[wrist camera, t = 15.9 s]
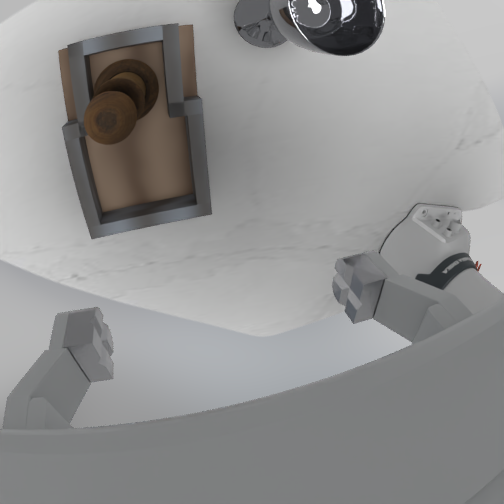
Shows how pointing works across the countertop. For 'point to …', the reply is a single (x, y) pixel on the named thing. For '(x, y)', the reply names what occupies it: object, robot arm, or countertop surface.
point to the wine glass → (312, 24)
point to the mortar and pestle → (120, 100)
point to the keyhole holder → (138, 134)
